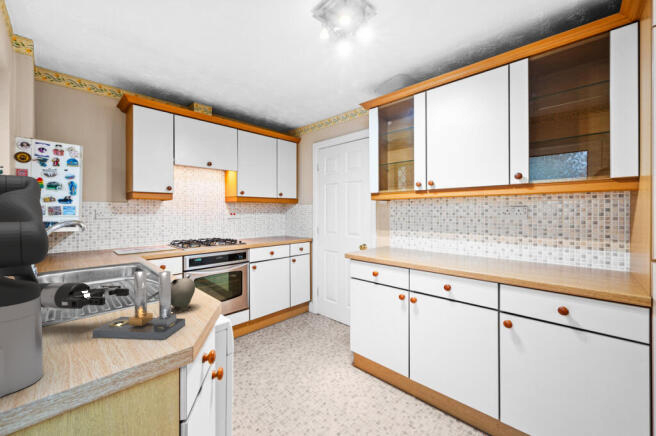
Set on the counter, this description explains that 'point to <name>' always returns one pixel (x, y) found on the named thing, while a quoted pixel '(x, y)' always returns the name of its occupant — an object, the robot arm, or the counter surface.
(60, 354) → the counter surface
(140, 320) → the sliding leg
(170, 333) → the pitch plate
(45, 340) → the counter surface
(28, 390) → the counter surface
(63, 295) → the robot arm
